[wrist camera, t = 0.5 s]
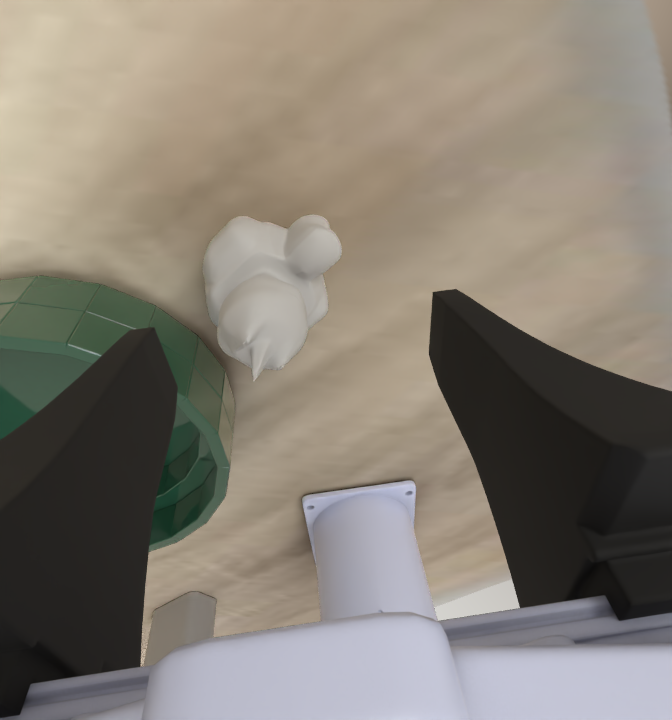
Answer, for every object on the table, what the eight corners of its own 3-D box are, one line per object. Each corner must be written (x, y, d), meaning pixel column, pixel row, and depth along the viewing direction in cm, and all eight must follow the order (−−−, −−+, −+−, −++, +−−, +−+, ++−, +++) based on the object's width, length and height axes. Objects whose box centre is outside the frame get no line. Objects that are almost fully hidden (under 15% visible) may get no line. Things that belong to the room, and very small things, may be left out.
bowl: (257, 467, 30) (255, 538, 26) (17, 500, 29) (-21, 579, 25) (192, 249, 20) (174, 311, 16) (-167, 293, 20) (-274, 368, 16)
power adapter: (220, 600, 40) (205, 783, 31) (177, 622, 42) (151, 802, 33) (193, 589, 39) (169, 779, 29) (149, 612, 40) (113, 799, 31)
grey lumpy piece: (175, 260, 20) (134, 379, 14) (280, 152, 18) (286, 236, 12) (266, 331, 23) (265, 455, 17) (366, 245, 21) (407, 352, 15)
